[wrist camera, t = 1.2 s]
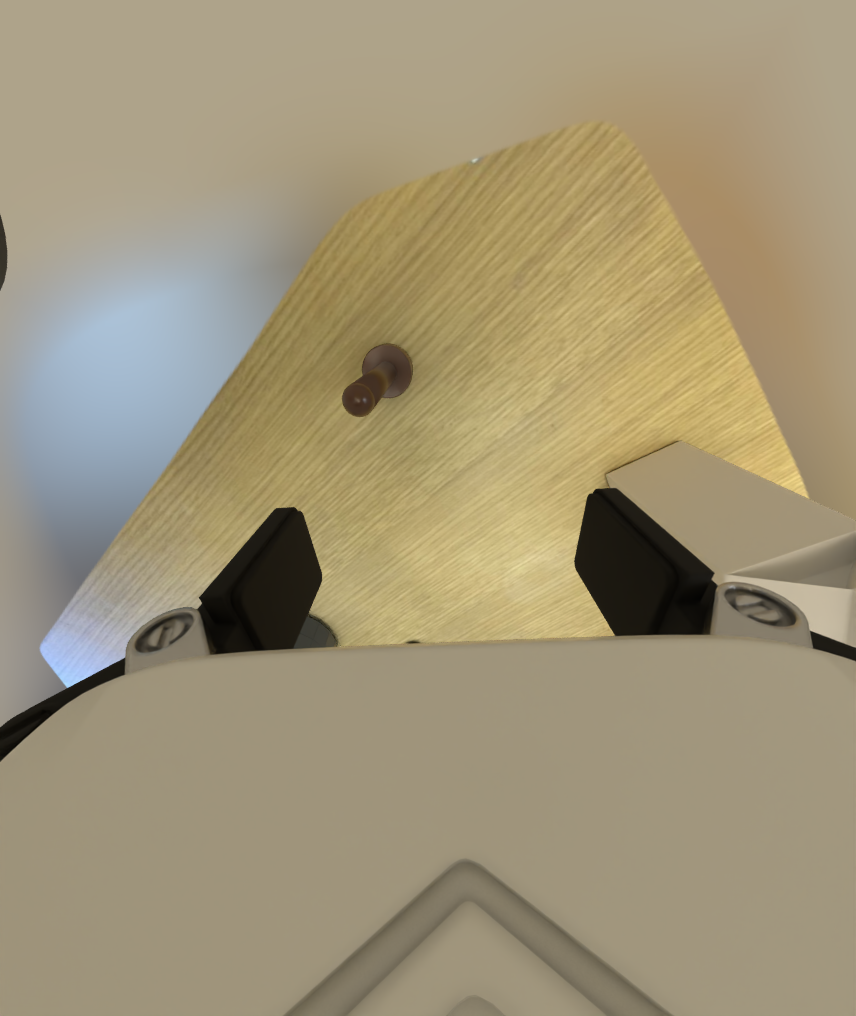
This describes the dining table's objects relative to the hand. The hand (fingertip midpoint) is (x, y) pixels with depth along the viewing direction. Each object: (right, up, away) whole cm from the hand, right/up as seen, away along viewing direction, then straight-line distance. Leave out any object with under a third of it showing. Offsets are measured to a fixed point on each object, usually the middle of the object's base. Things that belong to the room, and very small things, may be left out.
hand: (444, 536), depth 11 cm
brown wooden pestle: (-4, +13, +17) cm, 21 cm away
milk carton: (+22, +3, +22) cm, 31 cm away
